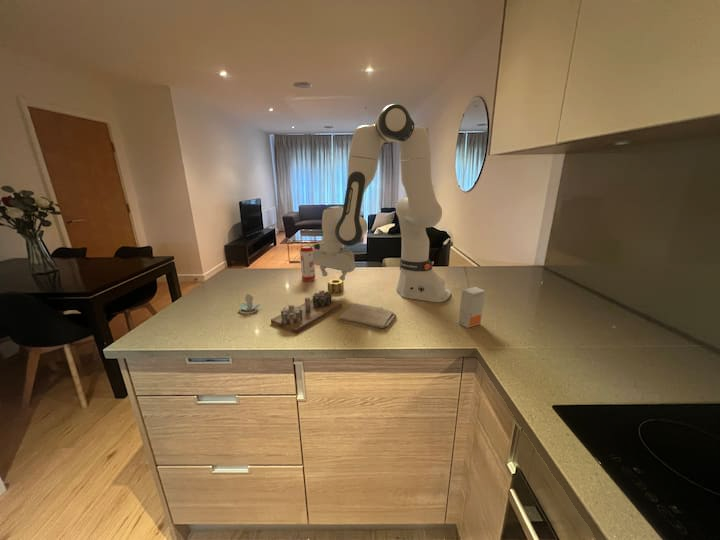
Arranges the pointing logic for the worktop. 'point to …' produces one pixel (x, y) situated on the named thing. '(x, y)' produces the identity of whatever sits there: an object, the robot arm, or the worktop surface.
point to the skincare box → (471, 307)
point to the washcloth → (368, 317)
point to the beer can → (307, 263)
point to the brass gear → (335, 286)
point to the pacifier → (248, 305)
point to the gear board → (306, 312)
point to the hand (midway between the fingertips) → (333, 278)
